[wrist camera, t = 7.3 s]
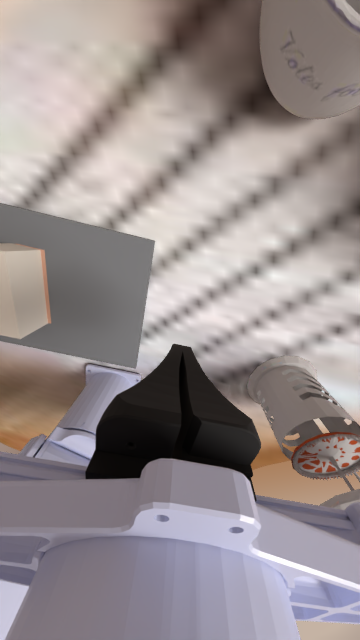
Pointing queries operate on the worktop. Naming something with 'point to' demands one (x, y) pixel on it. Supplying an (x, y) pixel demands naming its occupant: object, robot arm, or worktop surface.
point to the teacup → (312, 55)
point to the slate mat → (85, 285)
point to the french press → (308, 422)
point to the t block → (21, 291)
